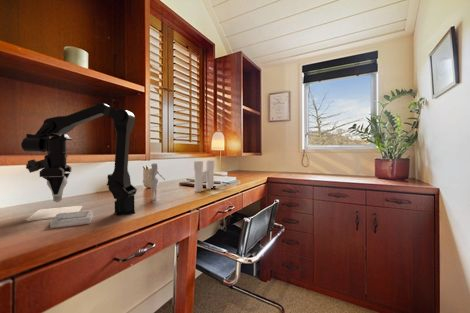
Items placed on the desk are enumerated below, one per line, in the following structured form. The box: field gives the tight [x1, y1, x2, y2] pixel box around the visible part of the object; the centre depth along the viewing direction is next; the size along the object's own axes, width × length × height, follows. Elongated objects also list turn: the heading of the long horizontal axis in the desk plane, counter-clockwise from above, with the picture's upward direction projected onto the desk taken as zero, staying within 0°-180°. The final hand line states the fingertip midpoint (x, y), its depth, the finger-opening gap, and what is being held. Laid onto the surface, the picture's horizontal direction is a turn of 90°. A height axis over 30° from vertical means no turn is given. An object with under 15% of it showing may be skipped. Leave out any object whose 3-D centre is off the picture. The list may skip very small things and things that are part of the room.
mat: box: [26, 205, 83, 222], centre depth 85 cm, size 14×14×1 cm
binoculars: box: [193, 159, 215, 193], centre depth 138 cm, size 17×5×18 cm, turn 151°
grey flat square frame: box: [49, 209, 94, 229], centre depth 76 cm, size 10×10×2 cm
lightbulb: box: [46, 175, 68, 203], centre depth 84 cm, size 6×6×11 cm
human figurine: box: [142, 163, 166, 201], centre depth 108 cm, size 12×4×18 cm, turn 141°
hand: (57, 193), depth 85 cm, fingers closed on lightbulb, 5 cm apart
